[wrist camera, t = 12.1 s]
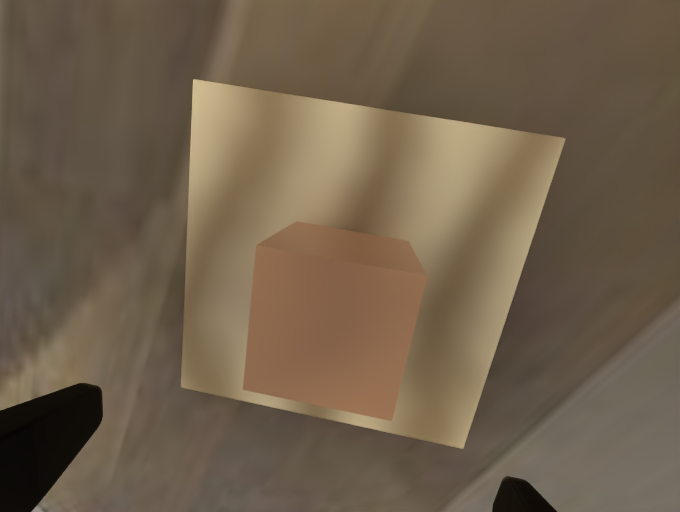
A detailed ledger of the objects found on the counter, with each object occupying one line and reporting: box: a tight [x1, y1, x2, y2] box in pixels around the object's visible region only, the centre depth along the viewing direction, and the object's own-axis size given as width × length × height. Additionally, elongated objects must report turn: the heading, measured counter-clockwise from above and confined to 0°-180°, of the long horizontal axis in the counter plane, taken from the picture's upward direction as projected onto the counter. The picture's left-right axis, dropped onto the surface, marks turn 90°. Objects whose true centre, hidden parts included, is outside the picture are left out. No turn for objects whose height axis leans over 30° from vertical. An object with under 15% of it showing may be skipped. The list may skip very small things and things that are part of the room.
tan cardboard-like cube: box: [243, 221, 427, 421], centre depth 15 cm, size 6×6×6 cm
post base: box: [181, 79, 566, 449], centre depth 16 cm, size 18×18×6 cm
